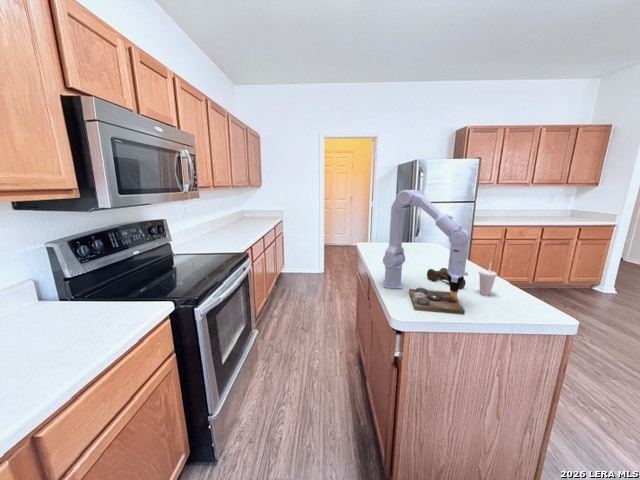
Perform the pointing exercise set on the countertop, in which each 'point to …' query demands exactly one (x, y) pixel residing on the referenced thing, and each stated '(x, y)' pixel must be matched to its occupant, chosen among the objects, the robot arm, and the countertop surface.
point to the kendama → (441, 276)
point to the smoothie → (486, 281)
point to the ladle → (438, 297)
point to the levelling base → (434, 302)
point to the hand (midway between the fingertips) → (453, 294)
